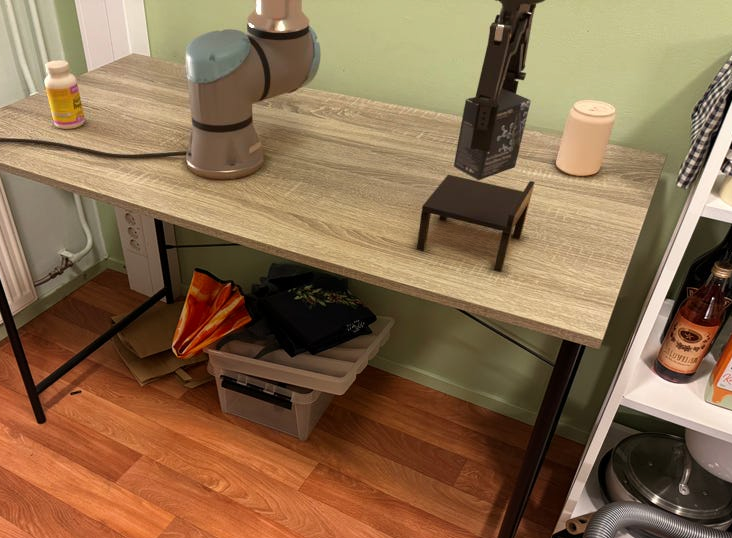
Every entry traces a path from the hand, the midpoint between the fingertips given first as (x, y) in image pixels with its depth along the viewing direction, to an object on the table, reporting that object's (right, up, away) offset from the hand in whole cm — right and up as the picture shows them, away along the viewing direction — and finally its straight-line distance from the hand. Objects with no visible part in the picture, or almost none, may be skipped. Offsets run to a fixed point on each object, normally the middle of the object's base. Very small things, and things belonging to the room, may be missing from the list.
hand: (490, 136), depth 100 cm
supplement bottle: (-78, +19, +50) cm, 95 cm away
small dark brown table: (0, -14, +12) cm, 18 cm away
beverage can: (+26, +4, +32) cm, 42 cm away
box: (0, -4, +3) cm, 5 cm away
